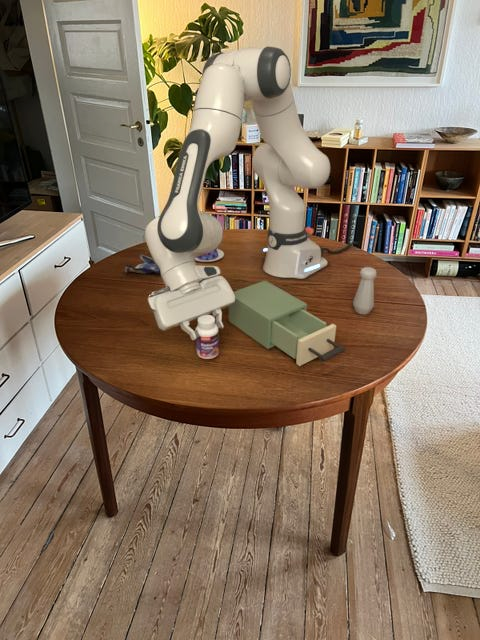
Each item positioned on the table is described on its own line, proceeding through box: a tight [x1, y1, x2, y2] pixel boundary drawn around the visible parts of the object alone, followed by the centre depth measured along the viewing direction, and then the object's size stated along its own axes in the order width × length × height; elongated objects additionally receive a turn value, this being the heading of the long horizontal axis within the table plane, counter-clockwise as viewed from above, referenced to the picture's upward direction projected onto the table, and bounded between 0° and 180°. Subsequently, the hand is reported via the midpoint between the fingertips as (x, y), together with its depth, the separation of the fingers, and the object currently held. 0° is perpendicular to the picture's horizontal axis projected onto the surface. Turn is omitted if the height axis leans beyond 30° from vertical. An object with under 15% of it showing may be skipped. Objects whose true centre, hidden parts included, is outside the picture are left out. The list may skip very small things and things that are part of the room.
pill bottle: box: [194, 314, 220, 360], centre depth 110 cm, size 5×5×10 cm
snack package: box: [123, 254, 161, 274], centre depth 152 cm, size 12×6×12 cm
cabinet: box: [228, 280, 308, 350], centre depth 122 cm, size 17×13×9 cm
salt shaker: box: [352, 266, 378, 315], centre depth 128 cm, size 6×6×13 cm
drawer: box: [270, 309, 347, 367], centre depth 112 cm, size 21×11×7 cm, turn 37°
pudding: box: [195, 248, 225, 263], centre depth 162 cm, size 12×12×5 cm
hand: (208, 333), depth 109 cm, fingers closed on pill bottle, 5 cm apart
